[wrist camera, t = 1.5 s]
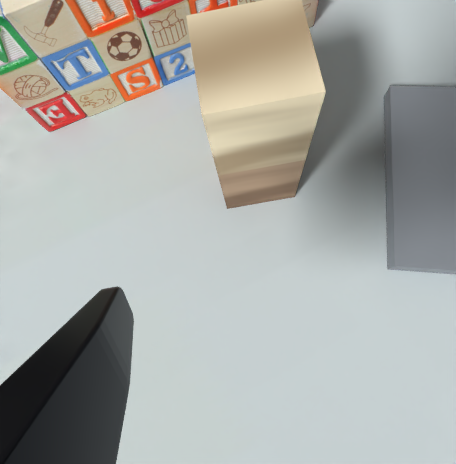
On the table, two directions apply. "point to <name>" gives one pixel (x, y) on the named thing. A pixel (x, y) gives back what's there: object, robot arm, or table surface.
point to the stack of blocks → (96, 52)
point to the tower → (257, 95)
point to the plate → (421, 178)
